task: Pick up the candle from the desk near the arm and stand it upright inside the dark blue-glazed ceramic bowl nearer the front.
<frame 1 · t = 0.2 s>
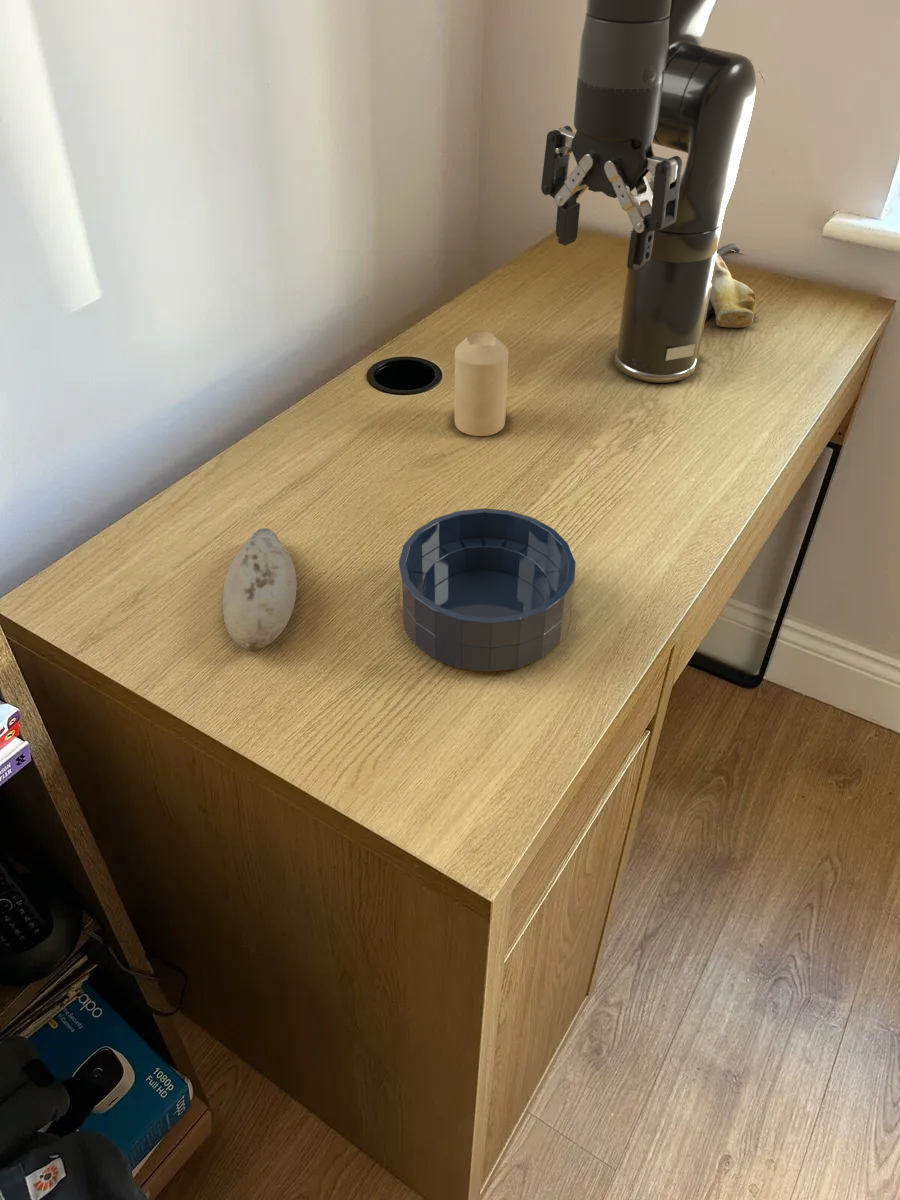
hand: (600, 254, 95), 17 cm above the table, tool pointing down, fingers open, 8 cm apart
bowl: (485, 615, 82), on the table
decorative stone: (263, 602, 83), on the table
figurine: (724, 304, 126), on the table
candle: (479, 424, 105), on the table
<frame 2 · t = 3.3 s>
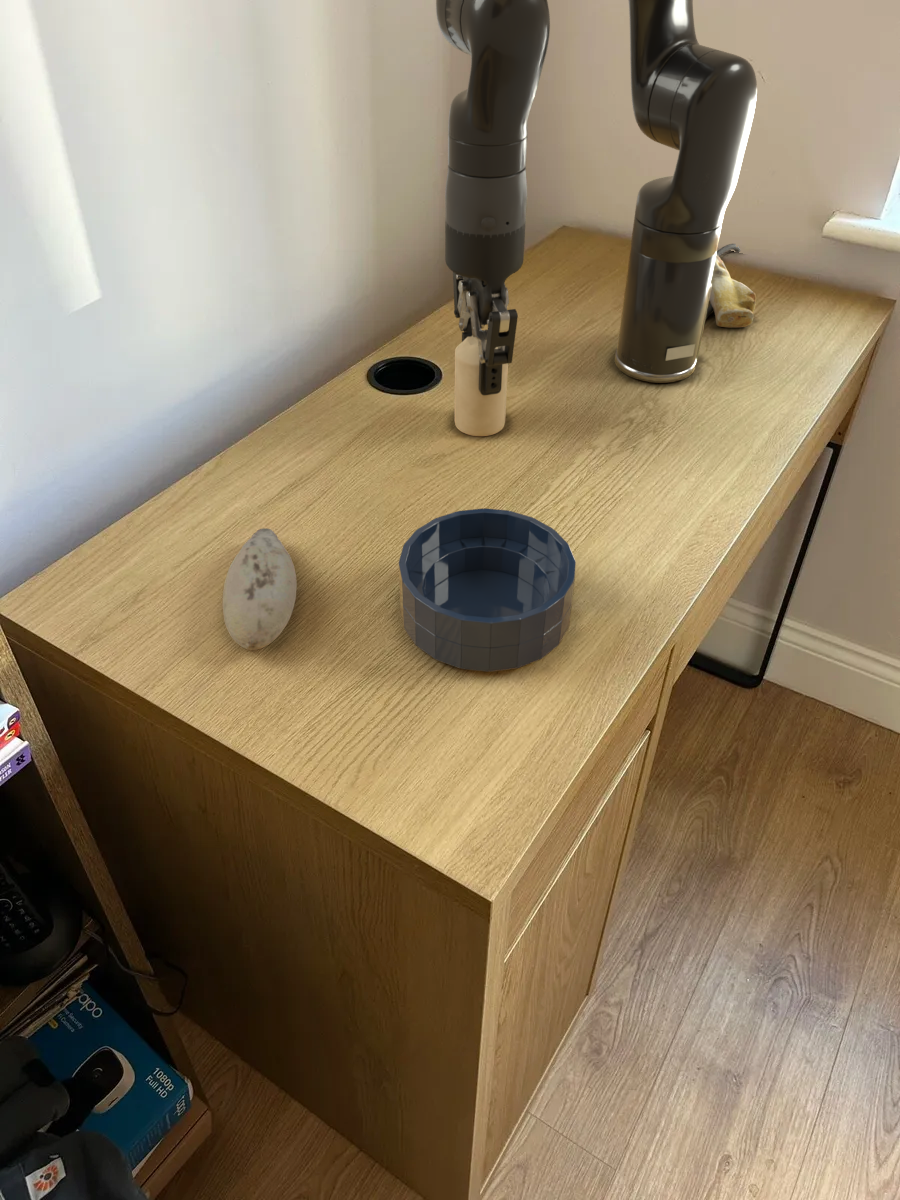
hand: (480, 377, 101), 6 cm above the table, tool pointing down, fingers closed on candle, 5 cm apart
candle: (479, 424, 105), on the table, touching gripper
everything else where it was.
when the fingers open (6 cm above the table, at t = 11.0 s): candle stays where it is, resting on bowl.
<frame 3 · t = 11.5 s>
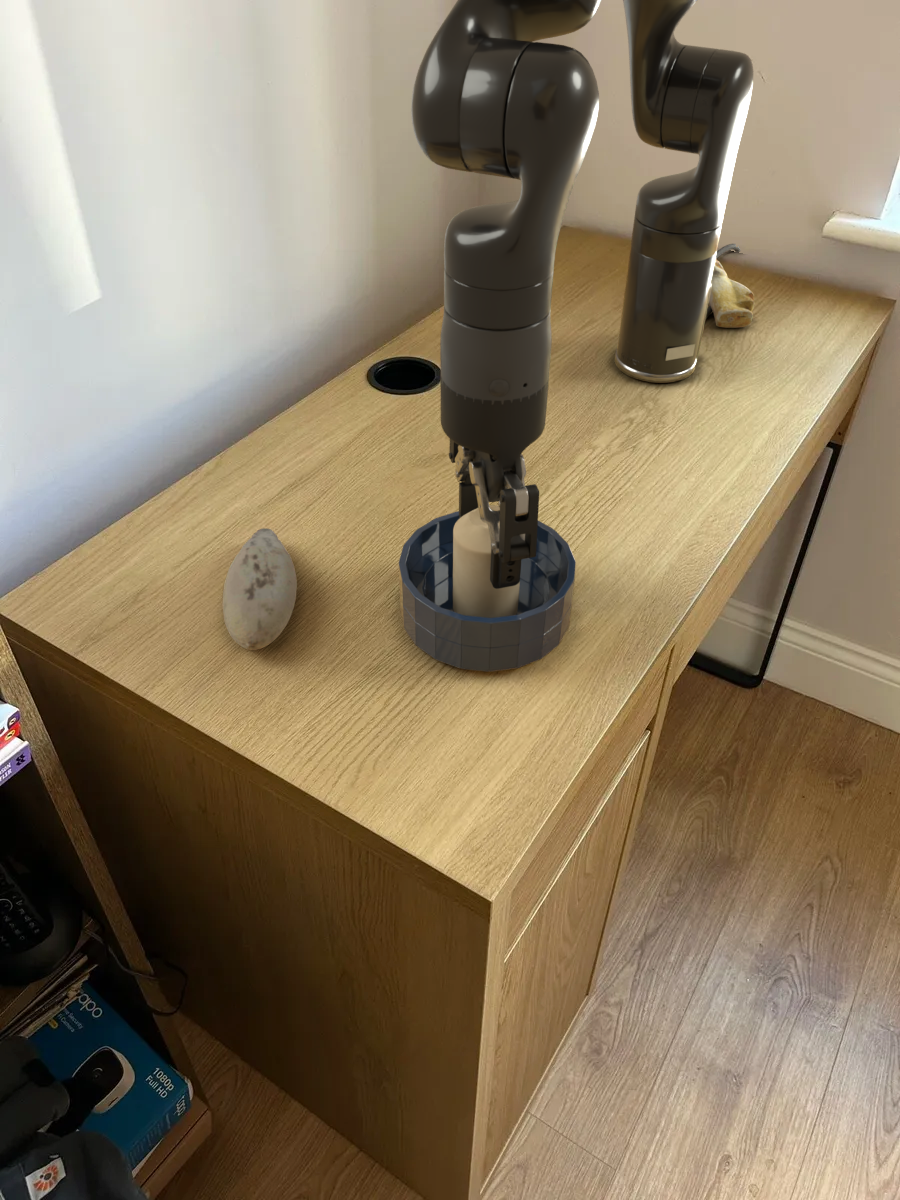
hand: (487, 550, 77), 7 cm above the table, tool pointing down, fingers open, 8 cm apart
candle: (485, 611, 82), resting on bowl
everything else where it was.
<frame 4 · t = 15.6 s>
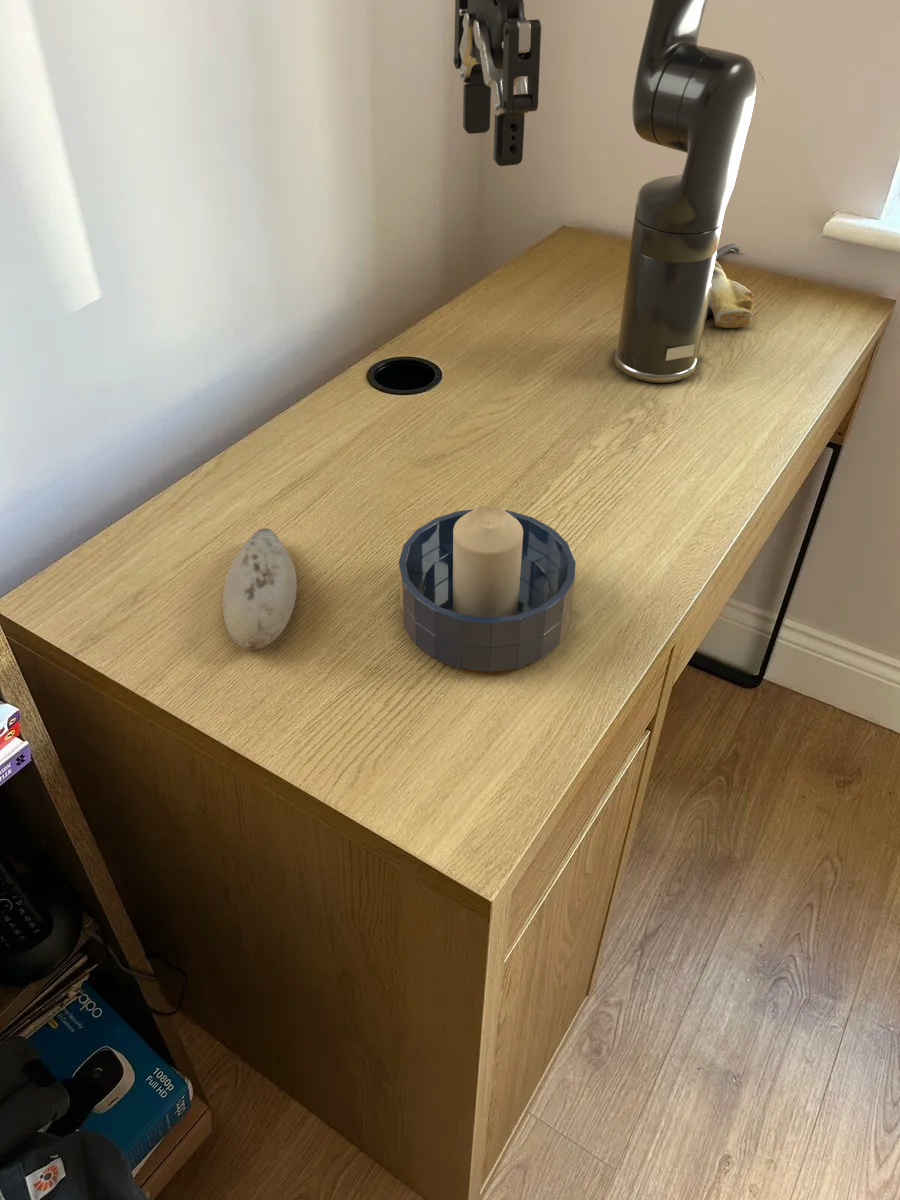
hand: (491, 147, 80), 30 cm above the table, tool pointing down, fingers open, 8 cm apart
nothing on the table moved.
at the end: candle 0.1 cm off-centre in the bowl, point 0.4 cm above the bowl's base; candle tilted 0°; the gripper is holding nothing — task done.
